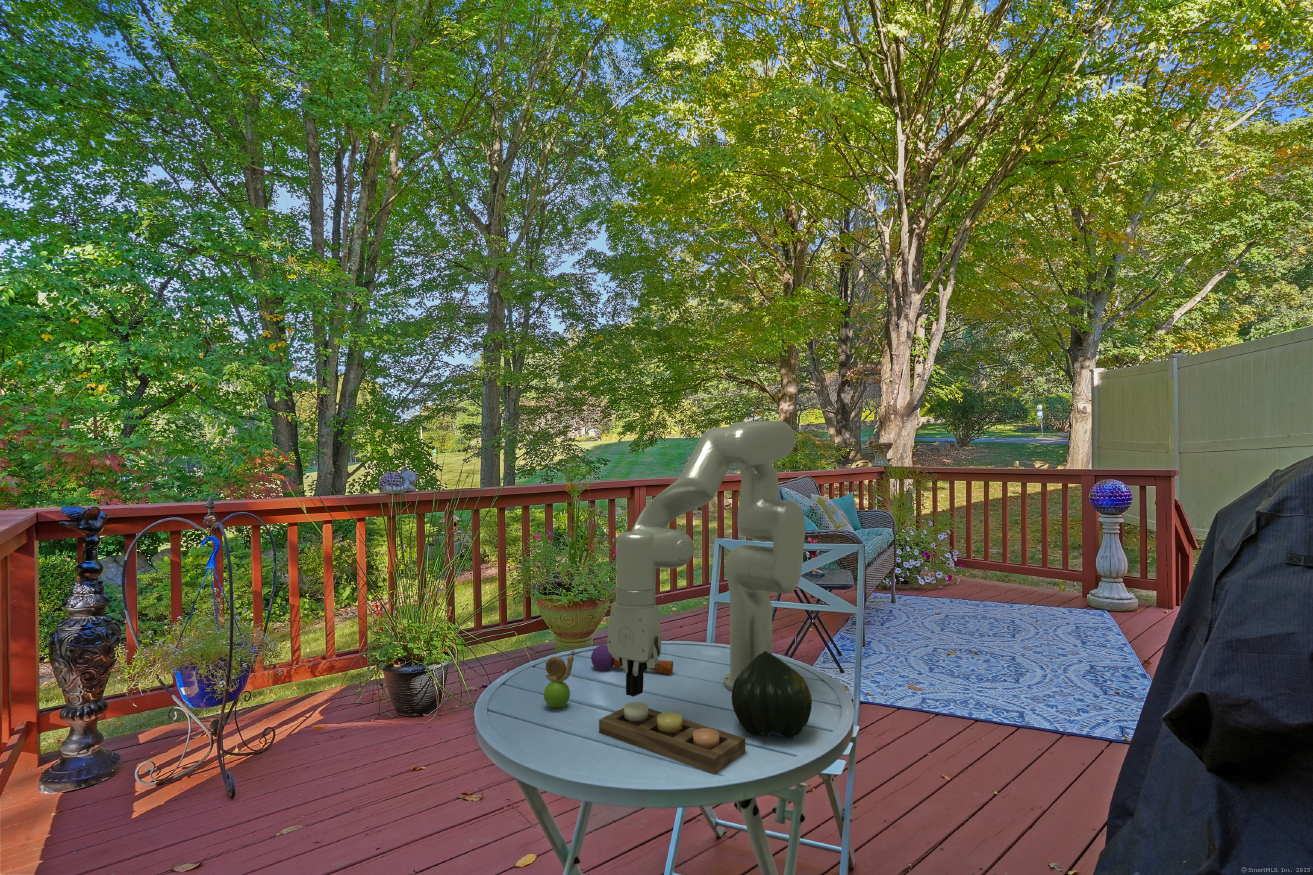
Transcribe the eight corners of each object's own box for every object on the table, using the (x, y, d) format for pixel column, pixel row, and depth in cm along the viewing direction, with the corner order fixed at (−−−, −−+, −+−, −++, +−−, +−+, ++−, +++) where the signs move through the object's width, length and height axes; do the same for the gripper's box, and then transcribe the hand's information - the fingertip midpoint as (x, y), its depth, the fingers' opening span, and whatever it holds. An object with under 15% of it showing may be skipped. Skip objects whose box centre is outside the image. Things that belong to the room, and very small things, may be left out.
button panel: (632, 715, 133) (632, 703, 133) (745, 752, 117) (745, 737, 117) (599, 732, 125) (599, 719, 125) (714, 773, 109) (714, 758, 109)
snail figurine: (569, 713, 134) (569, 654, 134) (539, 711, 135) (539, 652, 136) (578, 703, 139) (578, 646, 140) (549, 701, 141) (549, 644, 141)
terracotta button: (702, 735, 119) (702, 725, 119) (724, 742, 117) (724, 732, 117) (687, 744, 116) (687, 734, 116) (709, 752, 113) (709, 741, 113)
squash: (795, 728, 114) (806, 647, 124) (714, 716, 121) (731, 640, 130) (812, 758, 123) (821, 680, 133) (736, 745, 130) (750, 672, 139)
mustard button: (667, 719, 124) (667, 709, 124) (687, 725, 121) (687, 715, 122) (652, 727, 121) (652, 717, 121) (672, 734, 118) (672, 724, 118)
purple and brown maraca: (669, 662, 155) (588, 650, 159) (668, 686, 156) (587, 673, 160) (674, 650, 160) (595, 638, 165) (673, 673, 161) (595, 660, 166)
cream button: (634, 709, 129) (634, 699, 129) (653, 714, 126) (653, 705, 126) (619, 716, 126) (619, 707, 126) (637, 722, 123) (637, 713, 123)
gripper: (593, 594, 128) (592, 690, 127) (654, 606, 119) (653, 709, 118) (619, 588, 134) (617, 680, 133) (678, 599, 125) (677, 697, 124)
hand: (634, 693), depth 126 cm, fingers closed
